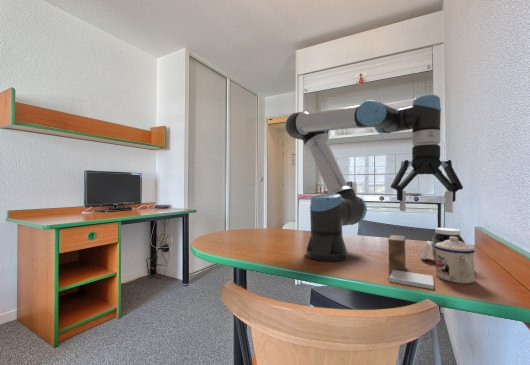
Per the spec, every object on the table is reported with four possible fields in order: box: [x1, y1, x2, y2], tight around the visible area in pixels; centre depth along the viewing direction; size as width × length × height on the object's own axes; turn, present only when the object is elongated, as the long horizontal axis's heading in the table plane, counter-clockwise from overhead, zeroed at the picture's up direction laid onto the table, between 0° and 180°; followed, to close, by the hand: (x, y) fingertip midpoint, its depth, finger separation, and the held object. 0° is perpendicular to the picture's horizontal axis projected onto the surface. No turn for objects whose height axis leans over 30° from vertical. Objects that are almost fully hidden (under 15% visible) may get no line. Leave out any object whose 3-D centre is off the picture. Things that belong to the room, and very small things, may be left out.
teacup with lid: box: [434, 237, 476, 285], centre depth 68 cm, size 12×9×12 cm
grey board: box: [389, 270, 435, 290], centre depth 68 cm, size 10×8×1 cm
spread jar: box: [420, 227, 466, 263], centre depth 84 cm, size 12×11×12 cm
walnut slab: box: [388, 234, 406, 273], centre depth 77 cm, size 4×8×10 cm, turn 147°
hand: (425, 211), depth 78 cm, fingers open, 13 cm apart
